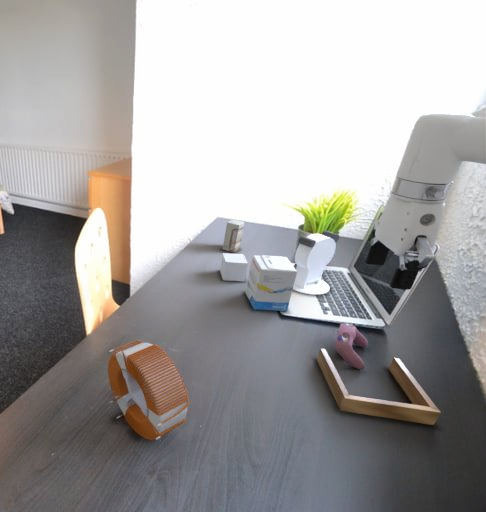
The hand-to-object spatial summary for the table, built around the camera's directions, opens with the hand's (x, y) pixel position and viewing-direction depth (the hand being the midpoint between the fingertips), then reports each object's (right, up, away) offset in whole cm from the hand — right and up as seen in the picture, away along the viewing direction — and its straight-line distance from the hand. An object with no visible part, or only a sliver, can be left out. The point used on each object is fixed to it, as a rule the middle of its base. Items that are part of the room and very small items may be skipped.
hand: (386, 275), depth 71 cm
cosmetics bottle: (-8, +6, +56) cm, 57 cm away
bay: (-5, -21, -2) cm, 22 cm away
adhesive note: (-14, -2, +39) cm, 41 cm away
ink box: (-11, -8, +26) cm, 29 cm away
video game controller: (-2, -17, +7) cm, 19 cm away
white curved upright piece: (+5, -4, +33) cm, 34 cm away
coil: (-49, -25, -7) cm, 55 cm away
